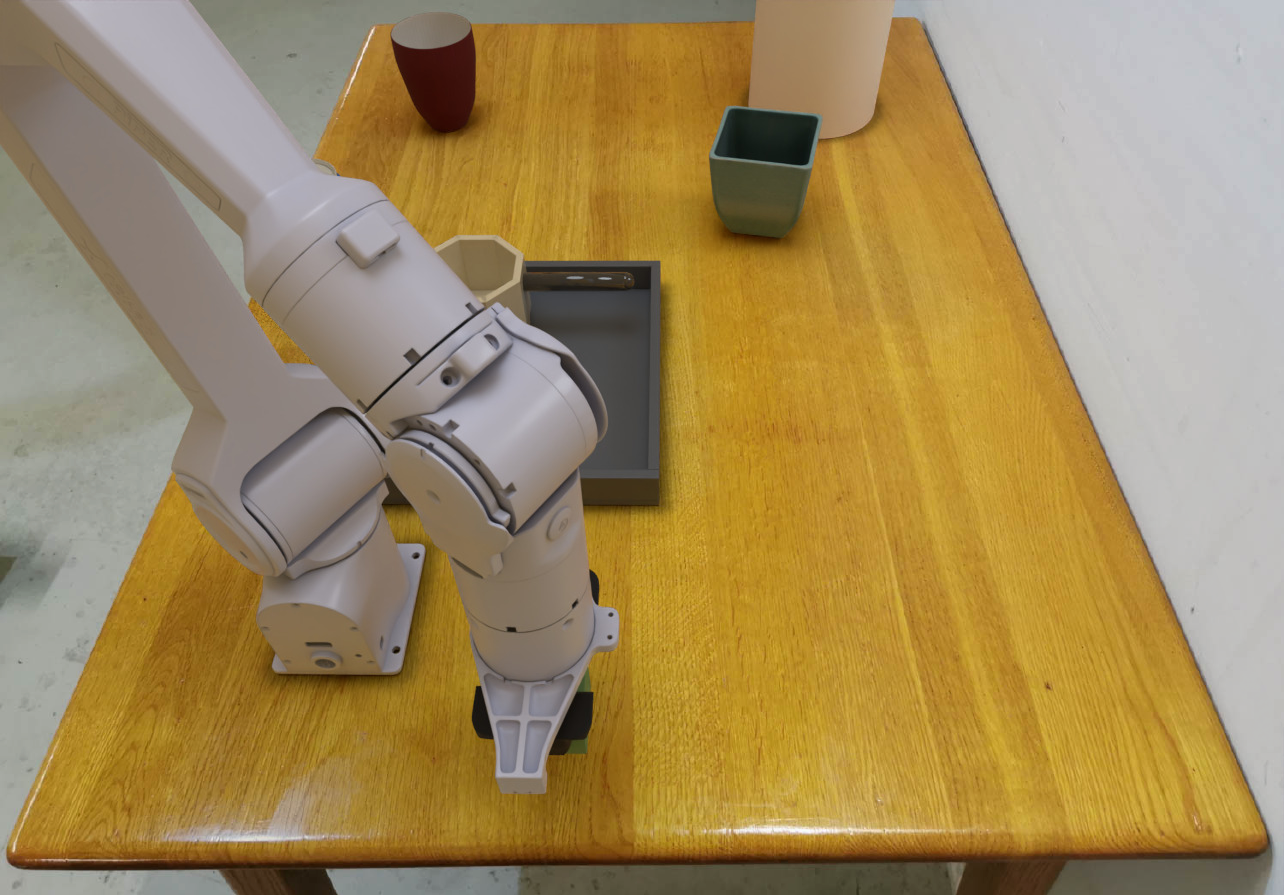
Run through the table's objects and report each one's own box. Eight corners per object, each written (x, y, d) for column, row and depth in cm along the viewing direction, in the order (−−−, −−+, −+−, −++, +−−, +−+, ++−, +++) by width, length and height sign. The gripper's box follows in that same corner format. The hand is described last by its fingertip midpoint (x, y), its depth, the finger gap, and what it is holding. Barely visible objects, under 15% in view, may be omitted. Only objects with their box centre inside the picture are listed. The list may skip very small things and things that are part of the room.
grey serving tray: (659, 505, 65) (659, 478, 62) (355, 504, 65) (343, 477, 63) (660, 288, 80) (660, 260, 77) (414, 289, 80) (406, 260, 78)
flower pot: (703, 243, 84) (707, 156, 77) (721, 189, 89) (726, 103, 83) (799, 256, 82) (812, 168, 76) (811, 200, 88) (824, 114, 81)
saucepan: (634, 358, 73) (632, 302, 69) (426, 358, 74) (410, 302, 69) (636, 290, 78) (635, 234, 74) (441, 291, 79) (428, 234, 74)
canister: (883, 138, 95) (926, -70, 80) (753, 139, 95) (771, -68, 80) (863, 73, 104) (898, -125, 88) (744, 75, 104) (758, -123, 89)
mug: (421, 92, 103) (402, 1, 95) (493, 92, 102) (480, 0, 95) (404, 143, 96) (382, 50, 88) (481, 143, 95) (465, 49, 88)
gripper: (609, 736, 35) (619, 847, 45) (620, 448, 44) (627, 594, 55) (425, 734, 35) (478, 845, 46) (476, 447, 45) (510, 593, 55)
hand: (551, 708), depth 50 cm, fingers closed on sponge block, 4 cm apart
